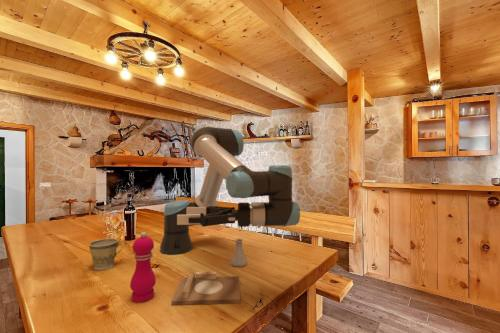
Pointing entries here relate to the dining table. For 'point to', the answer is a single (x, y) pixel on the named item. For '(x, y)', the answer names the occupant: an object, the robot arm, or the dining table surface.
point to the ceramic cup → (104, 252)
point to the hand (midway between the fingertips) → (182, 215)
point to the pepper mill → (143, 270)
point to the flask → (239, 255)
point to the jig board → (207, 289)
